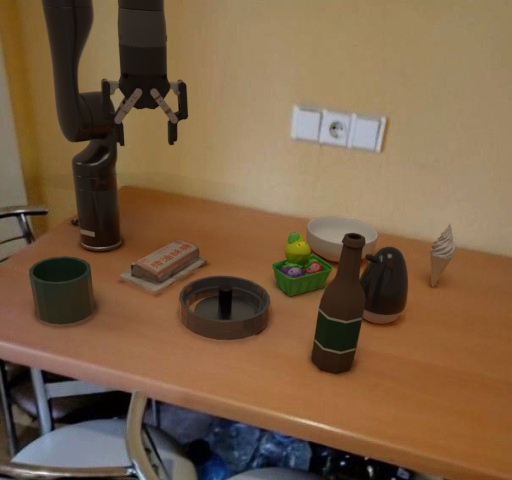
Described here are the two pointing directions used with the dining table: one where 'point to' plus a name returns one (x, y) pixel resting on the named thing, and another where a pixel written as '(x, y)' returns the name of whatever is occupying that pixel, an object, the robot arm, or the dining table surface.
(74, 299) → the pot
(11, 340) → the dining table surface
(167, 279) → the packaged product
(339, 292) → the beer bottle
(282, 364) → the dining table surface
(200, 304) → the lid
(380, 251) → the penguin figurine
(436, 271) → the ice cream cone
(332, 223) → the cereal bowl
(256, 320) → the pan
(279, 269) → the fruit basket
